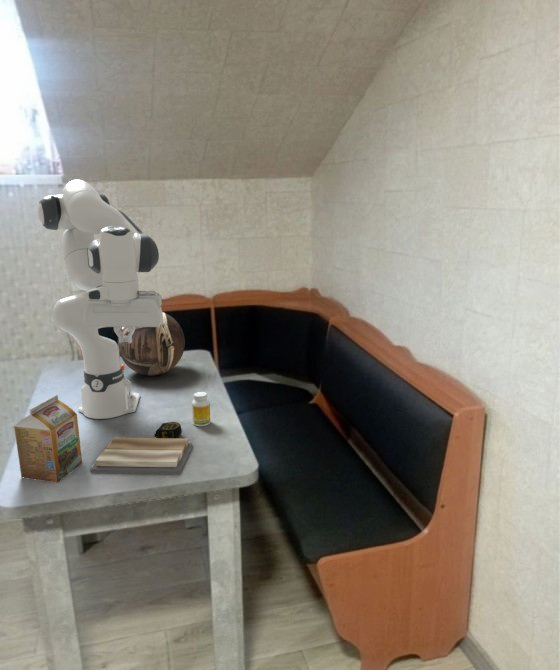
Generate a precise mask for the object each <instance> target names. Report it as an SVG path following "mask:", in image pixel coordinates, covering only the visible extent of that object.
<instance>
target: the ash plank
mask: <svg viewBox="0 0 560 670" xmlns="http://www.w3.org/2000/svg"><path fill="white" fill-rule="evenodd" d="M182 456H183V454H182V450H125V449H106V448H105V449H103V451H102V453H100V454H99V456H98V457H97V458H96V459H95V463H96V466H124V467H177V465H178V463H179V461H180V459H181V458H182Z"/></svg>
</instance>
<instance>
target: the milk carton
mask: <svg viewBox="0 0 560 670" xmlns="http://www.w3.org/2000/svg"><path fill="white" fill-rule="evenodd" d="M13 428H14V435H15V441H16V448H17V449H16V450H17V457H18V462H19V470H20V476H21V478H22V477H24V478H23V479H27V478H29V480H34V479H36V480H35V481H42V482H47V483H48V482H50V483H55V484H57V483H59V482H61V481H62V480H63V479H64V478H65V477H67V476H69V475H70V474H71V473H72V472H73V471H75V470H76V469H77V468H78V467H80V466H81V465H83V457H82V456H83V455H82V447H81V446H82V445H81V439H80V438H81V437H80V430H79V421H78V414H77V412H76V411H75V410H73V408H71V407H70V406H69V405H67V404H66V403H65V402H62V401H61V400H60V399H59V397H58V394H55V395H52V396H51V397H49V398H48V399H46V400H44V401H42V402H40V403H39V404H37V405H35V406H33V407H31V408H30V409H29V415H27V416H25V417H23V418H21V419H20V420H19V421H17V423H16V424H15V425H14V426H13Z"/></svg>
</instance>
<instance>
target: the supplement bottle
mask: <svg viewBox="0 0 560 670" xmlns="http://www.w3.org/2000/svg"><path fill="white" fill-rule="evenodd" d="M191 410H192V411H191V412H192V424H193V425H194V426H196V427H207V426H208V425H210V424H211V402H210V400H209V399H208V393H207V392H204V391H198V392H195V393H193V400H192V402H191Z"/></svg>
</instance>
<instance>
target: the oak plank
mask: <svg viewBox="0 0 560 670" xmlns="http://www.w3.org/2000/svg"><path fill="white" fill-rule="evenodd" d="M189 443H190V442H189V438H179V437H178V438H156V437H113V439H112V440H111V441H110V442H109V444H108V445H107V447H106V448H105V449H125V450H182V454H184V452H185V450H186V448H187V446H188V444H189Z"/></svg>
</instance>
